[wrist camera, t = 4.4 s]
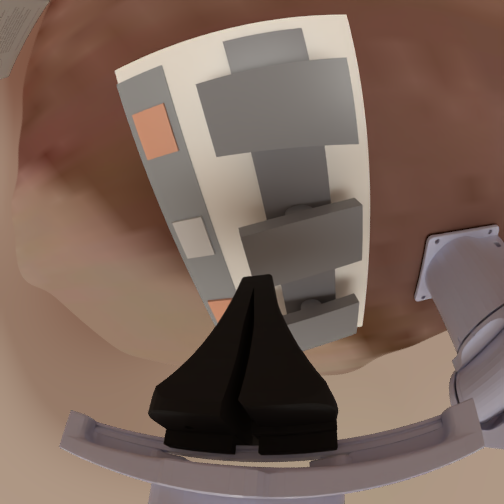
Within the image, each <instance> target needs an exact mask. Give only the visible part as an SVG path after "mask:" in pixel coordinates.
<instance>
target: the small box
mask: <svg viewBox="0 0 504 504" xmlns="http://www.w3.org/2000/svg"><path fill="white" fill-rule="evenodd" d="M49 2H50V0H0V79H2V78H6V77H8V76H9V75H10V72H11V70H12V68H13V65H14V63H15V61H16V59H17V57H18V55H19V53H20V50H21V49H22V47H23V45H24V43H25V41H26V39H27V37H28V35H29V34H30V32H31V30H32V28H33V27H34V25H35V23H36V22H37V19H38V18H39V17H40V15H41V14H42V12H43V10H44V9H45V7H46V6H47V5H48V3H49Z"/></svg>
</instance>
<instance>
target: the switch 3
mask: <svg viewBox="0 0 504 504" xmlns="http://www.w3.org/2000/svg"><path fill="white" fill-rule="evenodd" d="M358 312H359V301H358V299H357V297H356V296H355V294H354V293H353V294H350V295H347V296H344V297H341V298H338V299H335V300H332V301H329V302H326V303H323V304H321V302H320V301H318V300H316V299H309V300H306V301H304V302H303V303H302V305H301V310H300V311H296V312H293V313H289V314H286V315H283V317H284V319H285V322H286V324H287V326H288V328H289V330H290V331H291V333H292V335H293V337H294V339H295V340H296V342H297V344H298V345H299V347H300V348H301V350H302V351H305V350H308V349H311V348H314V347H317V346H321V345H324V344H327V343H330V342H333V341H336V340H339V339H341V338H344V337H347V336H350V335H353V334H355V333H356V331H357V322H358Z"/></svg>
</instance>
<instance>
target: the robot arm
mask: <svg viewBox="0 0 504 504" xmlns="http://www.w3.org/2000/svg"><path fill="white" fill-rule="evenodd" d="M498 232H499V227H498V226H497V225H490V226H484V227H479V228H473V229H467V230H461V231H455V232H449V233H443V234H436V235H431V236H429V237H428V239H427V241H426V247H425V252H424V257H423V262H422V267H421V272H420V276H419V280H418V284H417V288H416V292H415V296H414V298H415V300H416V301H422V300H426V299H430V298H432V299H433V301H434V303H435V305H436V307H437V309H438V311H439V313H440V315H441V317H442V319H443V321H444V324H445V326H446V328H447V330H448V333H449V335H450V337H451V340H452V342H453V344H454V347H455V349H456V352H457V356H456V357H455V358H454V359H453V360H452V362H453V365H454V367H455V371H454V372H453V374H452V376H451V378H450V383H449V395H450V402H451V407H449V408H447V409H446V410H445V411H444V412H443V413H442V414H441V415H439V416H436V417H433V418H430V419H427V420H424V421H421V422H417V423H414V424H411V425H407V426H403V427H400V428H396V429H393V430H388V431H384V432H379V433H375V434H370V435H365V436H359V437H354V438H348V439H342V440H337V420H336V419H337V415H338V407H337V403H336V401H335V399H334V396H333V395H332V393H331V391H330V389H329V387H328V385H327V383H326V381H325V380H324V379H323V378H322V377H321V376H320V374H319V373H318V372H317V371H316V369H315V368H314V367H313V365H312V364H311V363H310V362H309V360H308V359H307V357H306V356H305V354H304V353H303V351H302V350H301V348H300V347H299V345H298V344H297V342H296V340H295V339H294V337H293V335H292V333H291V331H290V330H289V328H288V326H287V324H286V322H285V319H284V317H283V315H282V313H281V310H280V308H279V305H278V301H277V296H276V291H275V286H274V282H273V277H272V275H270V274H265V275H256V276H247V277H243V278H242V279H241V282H240V284H239V286H238V288H237V290H236V292H235V294H234V296H233V298H232V300H231V302H230V304H229V305H228V307H227V309H226V311H225V312H224V314H223V316H222V317H221V319H220V320H219V322H218V323H217V325H216V326H215V328H214V329H213V331H212V332H211V333H210V335H209V336H208V337H207V339H206V340H205V341H204V342H203V344H202V345H201V346H200V347H199V348H198V349H197V351H196V352H195V353H194V354H193V355H192V356H191V357H190V358H189V359H188V360H187V361H186V362H185V363H184V364H183V365H182V366H181V367H180V368H179V369H177V370H176V371H175V372H174V373H173V374H172V375H170V376H169V377H168V378H167V379H165V380H164V381H163V382H161V383H160V384H159V385H157V386H156V388H155V391H154V393H153V396H152V400H151V404H150V408H149V412H148V414H149V416H150V418H151V419H153V420H154V421H155V422H157V423H158V424H160V425H161V426H163V427H164V428H166V434H165V438H162V437H157V436H151V435H147V434H141V433H137V432H132V431H128V430H124V429H120V428H117V427H113V426H109V425H106V424H102V423H99V422H96V421H95V420H94V419H92V418H91V417H89V416H87V415H84V414H82V413H79V412H76V411H73V410H71V412H70V414H69V418H68V421H67V423H66V427H65V430H64V433H63V436H62V439H61V443H60V448H61V449H63V450H65V451H67V452H69V453H71V454H73V455H76V456H78V457H80V458H82V459H84V460H87V461H89V462H91V463H94V464H96V465H99V466H101V467H103V468H106V469H109V470H112V471H114V472H117V473H120V474H123V475H126V476H129V477H132V478H135V479H139V480H142V481H146V482H149V483H152V484H151V490H150V496H149V503H148V504H345V503H344V502H345V501H344V494H347V493H353V492H358V491H364V490H369V489H373V488H377V487H382V486H386V485H390V484H393V483H397V482H401V481H404V480H408V479H411V478H414V477H417V476H420V475H423V474H426V473H429V472H431V471H434V470H436V469H439V468H441V467H444V466H447V465H449V464H451V463H454V462H456V461H458V460H460V459H463V458H464V457H467V456H469V455H471V454H473V453H475V452H477V451H479V450H481V449H482V448H484V447H489V448H497V449H504V242H503V241H502V240H501V238H500V237H499V236H498ZM436 240H437V241H436ZM173 454H175V455H173ZM177 455H181V456H188V457H196V458H203V459H212V460H223V461H240V462H288V461H305V460H313V461H311V462H310V467H303V468H302V467H301V468H271V467H247V466H232V465H219V464H208V463H198V462H191V461H189V460H187V459H186V458H184V457H181V456H177ZM347 455H348V456H347ZM316 459H318V460H316Z"/></svg>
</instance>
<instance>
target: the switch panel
mask: <svg viewBox="0 0 504 504" xmlns="http://www.w3.org/2000/svg"><path fill="white" fill-rule="evenodd" d="M344 57H347V62H348V67H349V72H350V78H351V84H352V90H353V97H354V104H355V112H356V120H357V129H358V139H359V144H347V145H324V146H309V147H296V148H285V149H275V150H265V151H257V152H249V153H241V154H234V155H228V156H221V157H216V154H215V150H214V147H213V144H212V140H211V137H210V133H209V130H208V126H207V123H206V119H205V116H204V112H203V109H202V105H201V102H200V98H199V95H198V91H197V88H196V84H198V83H201V82H205V81H208V80H212V79H215V78H219V77H223V76H226V75H230V74H234V73H239V72H243V71H247V70H252V69H257V68H262V67H267V66H273V65H279V64H285V63H292V62H299V61H308V60H317V59H329V58H344ZM115 74H116V77H117V81H118V84H117V88H118V91H119V95H120V98H121V101H122V104H123V107H124V110H125V114H126V117H127V120H128V123H129V126H130V128H131V131H132V134H133V137H134V140H135V143H136V146H137V148H138V151H139V154H140V157H141V159H142V162H143V165H144V167H145V170H146V173H147V175H148V178H149V180H150V183H151V185H152V188H153V191H154V193H155V196H156V198H157V200H158V203H159V205H160V208H161V210H162V213H163V215H164V217H165V220H166V222H167V224H168V227H169V229H170V231H171V234H172V236H173V238H174V241H175V243H176V245H177V247H178V250H179V252H180V254H181V256H182V258H183V261H184V263H185V265H186V267H187V269H188V271H189V274H190V276H191V278H192V280H193V282H194V284H195V286H196V288H197V290H198V292H199V295H200V297H201V299H202V301H203V303H204V305H205V307H206V309H207V311H208V313H209V315H210V317H211V319H212V321H213V323H214V324H215V326H216V325H217V323H218V322H219V320H220V319H221V317H222V316H223V314H224V312H225V311H226V309H227V307H228V305H229V304H230V302H231V300H232V298H233V296H234V294H235V292H236V290H237V288H238V286H239V284H240V282H241V279H242V278H243V277H247V276H252V275H251V271H250V268H249V265H248V261H247V258H246V255H245V251H244V248H243V245H242V241H241V238H240V233H239V229H238V228H240V227H243V226H247V225H251V224H254V223H258V222H262V221H265V220H269V219H273V218H277V217H280V216H284V215H285V212H286V210H287V209H288V208H290V207H292V206H296V205H308V206H310V207H312V208H315V207H319V206H323V205H327V204H331V203H335V202H339V201H343V200H347V199H351V198H355V199H357V200H358V201H359V202H360V203H361V204H362V205H363V244H362V260H361V261H358V262H355V263H352V264H349V265H345V266H342V267H339V268H336V269H333V270H329V271H326V272H323V273H319V274H316V275H313V276H309V277H306V278H302V279H299V280H296V281H292V282H289V283H285V284H282V285H278V286H275V291H276V296H277V301H278V305H279V308H280V310H281V313H282V315H286V314H289V313H293V312H296V311H300V310H301V305H302V303H303V302H304V301H306V300H309V299H316V300H318V301H320V302H321V304H323V303H326V302H329V301H332V300H335V299H338V298H341V297H344V296H347V295H350V294H353V293H354V294H355V296H356V297H357V299H358V301H359V312H358V322H357V327H361V326H362V324H363V316H364V308H365V299H366V288H367V276H368V261H369V240H370V177H369V157H368V142H367V130H366V120H365V111H364V103H363V96H362V89H361V82H360V76H359V70H358V65H357V59H356V54H355V49H354V44H353V40H352V35H351V31H350V27H349V23H348V19H347V15H317V16H303V17H292V18H284V19H276V20H269V21H263V22H257V23H252V24H247V25H242V26H237V27H233V28H229V29H225V30H221V31H217V32H213V33H210V34H206V35H203V36H199V37H196V38H193V39H190V40H187V41H184V42H181V43H178V44H175V45H172V46H170V47H167V48H164V49H162V50H159V51H157V52H154V53H152V54H150V55H147V56H145V57H143V58H140V59H138V60H136V61H134V62H132V63H129V64H127V65H125V66H123V67H121V68H119V69H117V70H115Z"/></svg>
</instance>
